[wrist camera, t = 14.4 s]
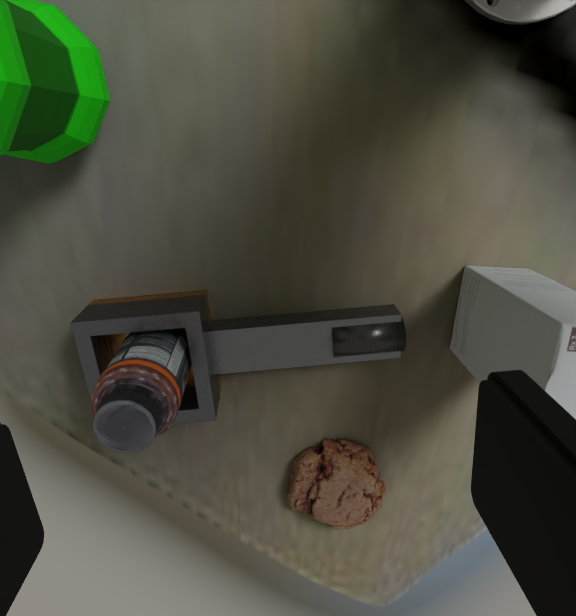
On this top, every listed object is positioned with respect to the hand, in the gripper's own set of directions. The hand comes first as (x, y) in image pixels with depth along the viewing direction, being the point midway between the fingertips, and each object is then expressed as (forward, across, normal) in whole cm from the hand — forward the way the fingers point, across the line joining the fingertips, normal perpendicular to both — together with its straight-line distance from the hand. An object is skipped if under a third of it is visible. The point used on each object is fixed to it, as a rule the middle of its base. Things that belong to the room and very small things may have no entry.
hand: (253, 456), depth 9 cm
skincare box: (+31, -19, +10) cm, 37 cm away
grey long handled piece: (+30, +2, +11) cm, 32 cm away
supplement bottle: (+29, +10, +11) cm, 33 cm away
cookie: (+31, -5, +28) cm, 42 cm away
